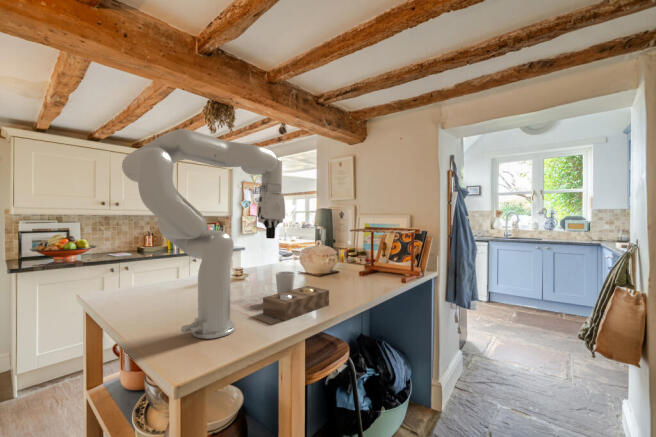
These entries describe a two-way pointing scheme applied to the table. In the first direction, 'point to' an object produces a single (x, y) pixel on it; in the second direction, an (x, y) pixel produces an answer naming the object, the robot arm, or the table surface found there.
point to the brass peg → (308, 290)
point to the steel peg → (286, 296)
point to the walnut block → (295, 303)
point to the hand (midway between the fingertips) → (270, 238)
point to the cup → (284, 281)
